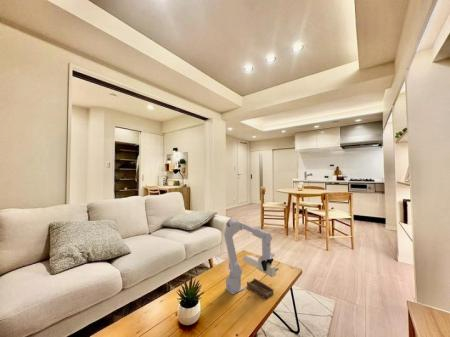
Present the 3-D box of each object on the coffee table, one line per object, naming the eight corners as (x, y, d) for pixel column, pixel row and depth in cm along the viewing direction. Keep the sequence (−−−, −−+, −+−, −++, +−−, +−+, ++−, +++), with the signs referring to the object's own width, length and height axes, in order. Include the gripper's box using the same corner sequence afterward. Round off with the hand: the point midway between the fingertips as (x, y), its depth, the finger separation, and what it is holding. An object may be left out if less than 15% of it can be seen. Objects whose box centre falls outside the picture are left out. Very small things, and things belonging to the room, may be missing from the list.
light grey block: (272, 277, 123) (272, 267, 123) (258, 269, 133) (258, 261, 133) (275, 275, 125) (275, 266, 125) (261, 268, 135) (261, 259, 135)
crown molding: (279, 269, 146) (278, 264, 146) (269, 274, 139) (269, 270, 139) (251, 256, 169) (251, 252, 169) (241, 261, 161) (241, 256, 161)
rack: (265, 298, 112) (265, 294, 112) (247, 286, 125) (246, 282, 125) (273, 294, 116) (273, 289, 116) (254, 282, 129) (254, 278, 129)
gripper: (263, 254, 122) (264, 275, 121) (277, 248, 131) (278, 268, 130) (255, 251, 127) (256, 271, 127) (269, 245, 136) (270, 264, 136)
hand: (266, 269), depth 129 cm, fingers closed on light grey block, 3 cm apart
